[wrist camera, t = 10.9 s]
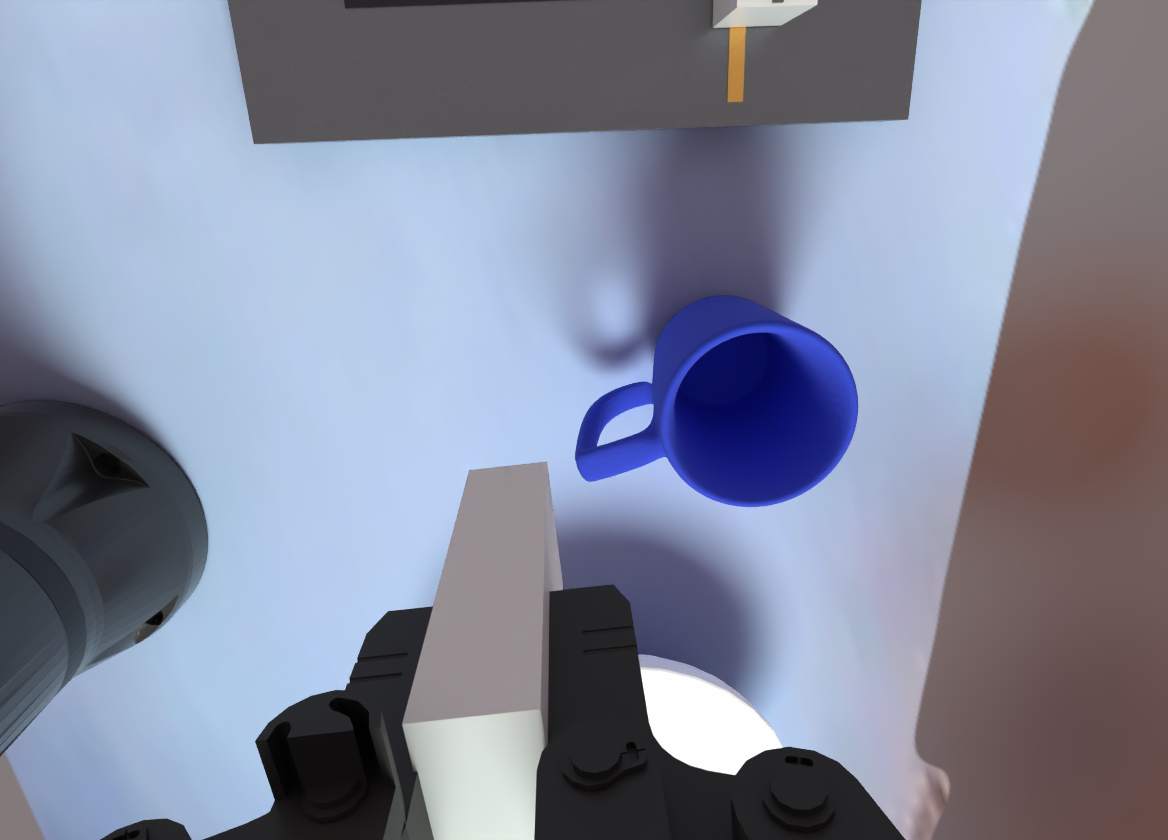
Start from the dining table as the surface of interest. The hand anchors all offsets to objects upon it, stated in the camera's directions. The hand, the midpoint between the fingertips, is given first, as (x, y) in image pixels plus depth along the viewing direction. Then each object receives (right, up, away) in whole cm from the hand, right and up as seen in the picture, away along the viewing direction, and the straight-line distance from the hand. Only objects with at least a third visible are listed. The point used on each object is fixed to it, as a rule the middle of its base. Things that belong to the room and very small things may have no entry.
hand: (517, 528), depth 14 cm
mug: (+7, +5, +25) cm, 27 cm away
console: (+1, +22, +19) cm, 29 cm away
